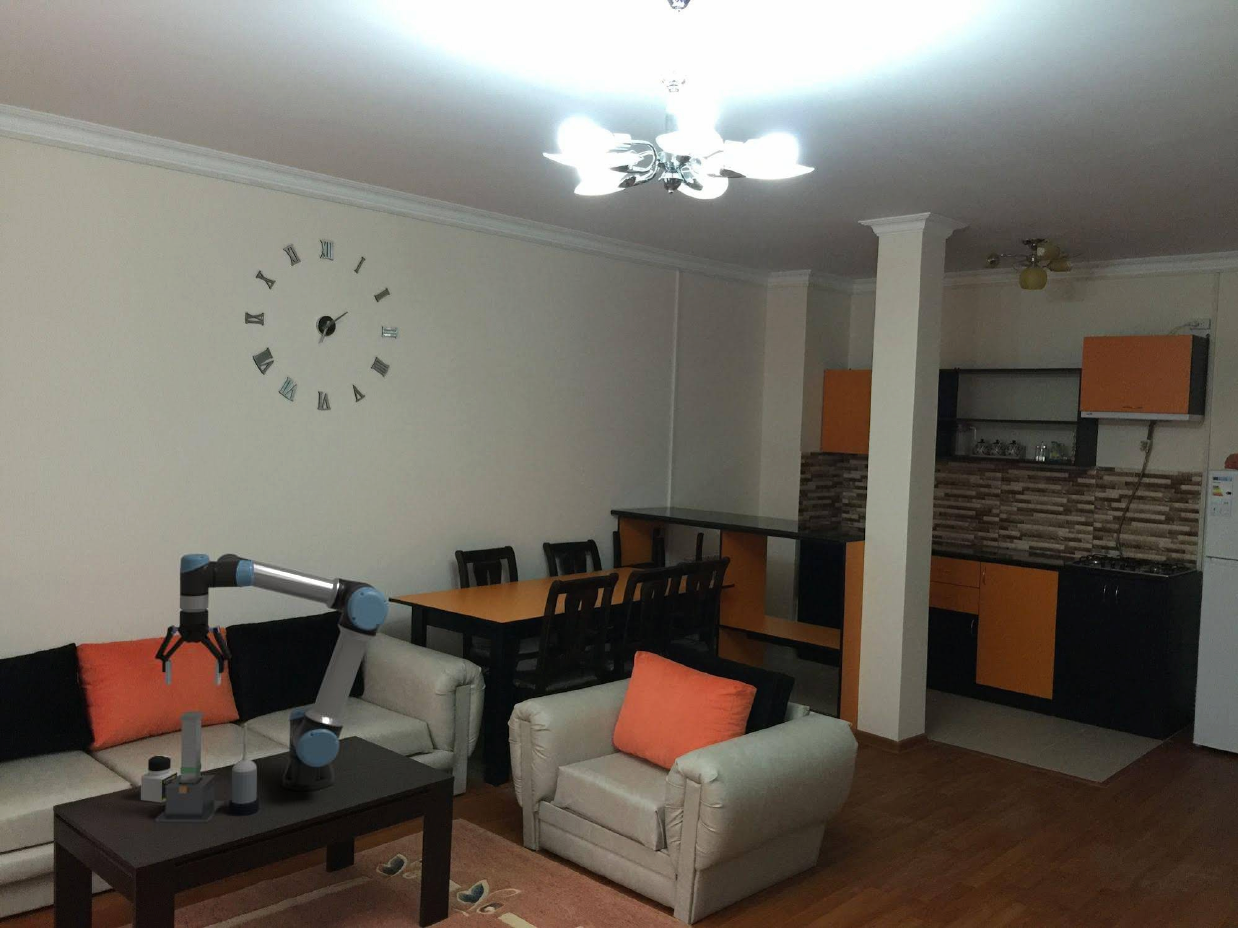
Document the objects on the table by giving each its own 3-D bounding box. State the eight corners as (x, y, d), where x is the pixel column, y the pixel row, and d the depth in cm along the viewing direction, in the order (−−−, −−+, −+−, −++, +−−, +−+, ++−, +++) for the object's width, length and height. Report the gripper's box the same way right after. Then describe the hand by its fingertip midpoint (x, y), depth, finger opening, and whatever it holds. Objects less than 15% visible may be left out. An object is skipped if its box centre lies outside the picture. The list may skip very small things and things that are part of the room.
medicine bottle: (162, 802, 298) (162, 761, 297) (140, 800, 299) (140, 759, 299) (177, 794, 305) (178, 754, 304) (156, 791, 306) (156, 752, 306)
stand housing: (223, 803, 299) (224, 771, 298) (207, 822, 285) (207, 788, 284) (174, 803, 298) (174, 771, 297) (155, 821, 284) (155, 788, 283)
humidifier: (260, 804, 299) (262, 719, 298) (256, 815, 291) (258, 727, 290) (231, 805, 297) (232, 720, 296) (226, 816, 289) (227, 728, 288)
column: (201, 784, 293) (202, 711, 292) (196, 790, 289) (197, 716, 288) (185, 784, 293) (186, 711, 292) (179, 790, 288) (180, 715, 288)
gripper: (243, 607, 294) (242, 681, 295) (153, 606, 292) (152, 680, 293) (235, 612, 286) (234, 687, 287) (143, 611, 285) (142, 686, 285)
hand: (193, 684), depth 290 cm, fingers open, 13 cm apart
